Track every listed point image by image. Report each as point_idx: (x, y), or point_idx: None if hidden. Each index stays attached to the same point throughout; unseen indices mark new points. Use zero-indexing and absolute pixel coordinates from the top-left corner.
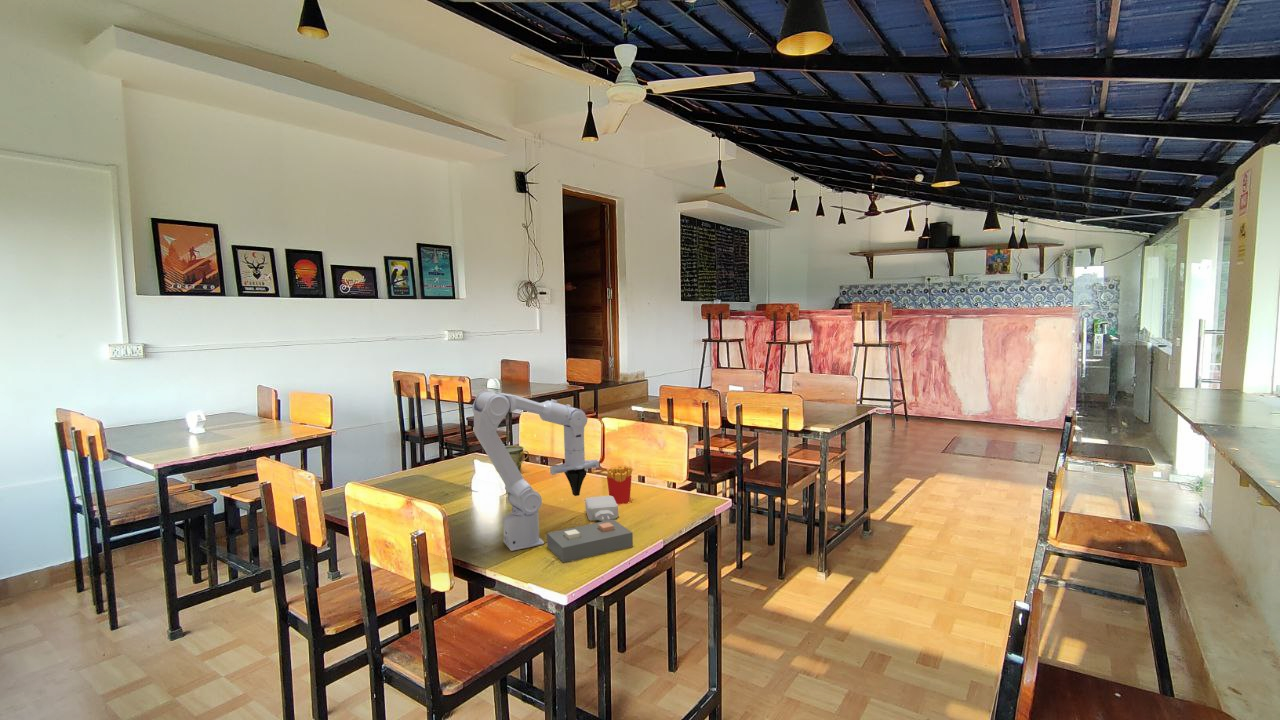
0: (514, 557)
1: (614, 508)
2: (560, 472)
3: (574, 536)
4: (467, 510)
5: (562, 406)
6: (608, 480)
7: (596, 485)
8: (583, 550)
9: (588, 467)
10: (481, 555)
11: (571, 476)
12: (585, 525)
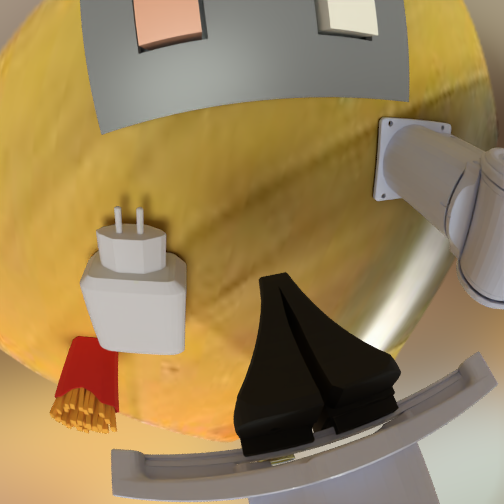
0: (451, 86)
1: (91, 272)
2: (432, 386)
3: None
4: (389, 349)
5: None
6: (113, 399)
7: (149, 406)
8: None
9: (203, 460)
10: (480, 143)
11: (391, 359)
12: (250, 95)
